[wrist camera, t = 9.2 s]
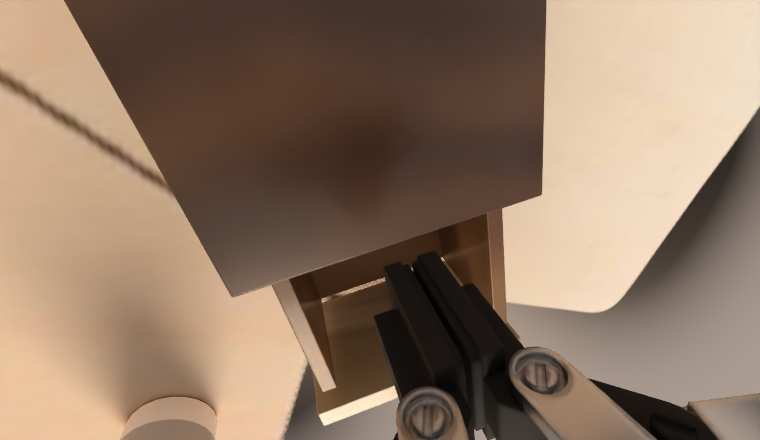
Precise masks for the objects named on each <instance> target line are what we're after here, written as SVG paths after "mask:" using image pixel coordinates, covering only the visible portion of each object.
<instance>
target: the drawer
mask: <svg viewBox="0 0 760 440" xmlns="http://www.w3.org/2000/svg"><path fill="white" fill-rule="evenodd" d="M431 251H435V252H436V253H437V254H438V256H439V257H440V258H441V257H443V259H444V260H445V261H443V262H444V264H445V265H446V267H447V268H448V269H449V271H450V272H451V273H452V275H453V276H454V277H455V279H456V280H457V282H458V283H459V284H460V286H463V285H466V284H469V283H472V284H474V285H475V286H476V287H477V288H478V290H479V291H480V292H481V293H482V295H483V296H484V297H485V299H486V300H487V301H488V302H489V304H490V305H491V306H492V307H493V309H494V310H495V311H496V312H497V314H498V315H499V316H500V318H501V319H502V320H503V321H504V323H505V324H506V325H507V326H508V328H509V329H510V330H511V331H512V333H513V334H514V335H515V337H516V338H517V339H518V340H519V342H520V337H519V336H518V334H517V333H516V332H515V331H514V329H513V328H512V327H511V326H510V324H509V323H508V322H507V319H506V318H507V317H506V294H505V270H504V246H503V222H502V208H501V209H498V210H495V211H492V212H489V213H486V214H483V215H480V216H477V217H474V218H471V219H468V220H465V221H462V222H459V223H456V224H453V225H450V226H447V227H444V228H441V229H438V230H435V231H432V232H429V233H426V234H423V235H420V236H417V237H414V238H411V239H408V240H405V241H402V242H399V243H396V244H393V245H390V246H387V247H384V248H381V249H378V250H375V251H372V252H369V253H366V254H363V255H360V256H357V257H354V258H351V259H348V260H345V261H341V262H338V263H335V264H332V265H329V266H326V267H323V268H320V269H317V270H314V271H311V272H308V273H305V274H302V275H299V276H296V277H293V278H290V279H287V280H284V281H281V282H278V283H275V284H272V287H273V289H274V291H275V293H276V295H277V297H278V299H279V301H280V304H281V306H282V308H283V310H284V312H285V314H286V316H287V318H288V320H289V322H290V324H291V327H292V329H293V331H294V333H295V335H296V337H297V339H298V341H299V343H300V345H301V347H302V350H303V352H304V354H305V356H306V358H307V360H308V362H309V364H310V366H311V368H312V370H313V376H314V384H315V393H316V401H317V410H318V415H319V417H320V419H321V421H322V423H323V425H324V426H326V425H328V424H331V423H333V422H336V421H338V420H341V419H344V418H346V417H349V416H351V415H354V414H356V413H359V412H362V411H364V410H367V409H370V408H372V407H375V406H377V405H380V404H383V403H385V402H387V401H390V400H393V399H395V398H398V395H397V392H396V389H395V386H394V383H393V380H392V378H391V375H390V372H389V369H388V366H387V363H386V360H385V357H384V354H383V351H382V348H381V345H380V341H379V338H378V335H377V331H376V327H375V323H374V320H373V316H374V315H377V314H380V313H383V312H386V311H389V310H392V307H391V302H390V298H389V293H388V289H387V285H386V281H385V282H382V283H379V284H376V285H374V286H371V287H368V288H365V289H362V290H359V291H356V292H353V293H350V294H347V295H344V296H342V297H339V298H336V299H333V300H330V301H327V302H324V303H322V302H321V298H324V297H327V296H330V295H333V294H336V293H339V292H342V291H345V290H348V289H351V288H353V287H356V286H359V285H362V284H365V283H368V282H371V281H374V280H377V279H380V278H383V277H385V276H384V271H383V267H384V266H387V265H390V264H393V263H396V262H399V261H400V262H401V264H402V265H405V264H408V265H409V266H410V268H412V262H415V261H417V256H418V255H421V254H425V253H428V252H431ZM413 273H414V272H413Z"/></svg>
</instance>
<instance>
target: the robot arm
mask: <svg viewBox="0 0 760 440" xmlns="http://www.w3.org/2000/svg"><path fill="white" fill-rule="evenodd" d="M412 267H413V272H414V273H413V272H412V270H411V268H410V266H409V265H408V264H405V265H402V264H401V262H400V261H399V262H396V263H393V264H390V265H387V266H384V267H383V271H384V276H385V280H386V285H387V289H388V293H389V298H390V302H391V307H392V310H389V311H386V312H383V313H380V314H377V315H374V316H373V320H374V323H375V327H376V331H377V335H378V338H379V341H380V345H381V348H382V351H383V354H384V357H385V360H386V363H387V366H388V369H389V372H390V375H391V378H392V380H393V383H394V386H395V389H396V392H397V395H398V398H399V401H400V403H399V405H398V408H397V411H396V425H397V433H396V435H395V438H394V440H475V438H474V429H475V430H476V431H478V430H480V429H482V430H483V432H484V434H485V436H486V438H487V440H490V439H493V438H496V440H760V393H758V394H750V395H742V396H734V397H725V398H717V399H709V400H701V401H692V402H689V403H688V405H687V406H685V407H679V406H677V405H674V404H672V403H669V402H666V401H663V400H659V399H656V398H653V397H649V396H646V395H643V394H639V393H636V392H632V391H629V390H626V389H622V388H619V387H615V386H612V385H609V384H606V383H602V382H599V381H596V380H592V379H589V378H587V377H586V376H584V375H583V374H582V373H581V372H580V371H579V370H578V369H577V368H575V367H574V366H573V365H572V364H571V363H570V362H569V361H567V360H566V359H565V358H564V357H562V356H561V355H560V354H558V353H557V352H555V351H552V350H550V349H547V348H542V347H527V348H524V347H523V345H522V344H521V343H520V342H519V340H518V339H517V338H516V337H515V335H514V334H513V333H512V331H511V330H510V329H509V328H508V326H507V325H506V324H505V323H504V321H503V320H502V319H501V318H500V316H499V315H498V314H497V312H496V311H495V310H494V309H493V307H492V306H491V305H490V304H489V302H488V301H487V300H486V299H485V297H484V296H483V295H482V293H481V292H480V291H479V290H478V288H477V287H476V286H475V285H474V284H472V283H469V284H466V285H463V286H460V284H459V283H458V282H457V280H456V279H455V277H454V276H453V275H452V273H451V272H450V271H449V269H448V268H447V267H446V265H445V264H444V262H443V261H442V260H441V258H440V257H439V256H438V254H437V253H436V252H435V251H431V252H428V253H425V254H421V255H418V256H417V261H415V262H412Z"/></svg>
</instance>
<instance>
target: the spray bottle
mask: <svg viewBox="0 0 760 440" xmlns="http://www.w3.org/2000/svg"><path fill="white" fill-rule="evenodd" d="M216 428H217V419H216V415H215V412H214V411H213V409H212V408H211V407H210V406H209V405H208V404H206V403H204V402H202V401H200V400H198V399H193V398H188V397H167V398H162V399H157V400H154V401H152V402H150V403H147V404H145V405H143V406H142V407H140V408H139V409H138V410H136V411H135V412H134V413H133V414H132V415H131V416H130V418H129V420H128V421H127V423H126V425H125V427H124V430H123V433H122V435H121V438H120V440H215V435H216Z"/></svg>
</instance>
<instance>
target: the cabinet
mask: <svg viewBox="0 0 760 440" xmlns="http://www.w3.org/2000/svg"><path fill="white" fill-rule="evenodd" d="M64 1H65V3H66V5H67V7H68V8H69V10H70V12H71V14H72V15H73V17H74V19H75V21H76V22H77V24H78V26H79V28H80V30H81V31H82V33H83V35H84V37H85V38H86V40H87V42H88V44H89V45H90V47H91V49H92V51H93V53H94V54H95V56H96V58H97V60H98V61H99V63H100V65H101V67H102V68H103V70H104V72H105V74H106V76H107V77H108V79H109V81H110V83H111V84H112V86H113V88H114V90H115V91H116V93H117V95H118V97H119V99H120V100H121V102H122V104H123V106H124V107H125V109H126V111H127V113H128V114H129V116H130V118H131V120H132V122H133V123H134V125H135V127H136V129H137V130H138V132H139V134H140V136H141V137H142V139H143V141H144V143H145V145H146V146H147V148H148V150H149V152H150V153H151V155H152V157H153V159H154V160H155V162H156V164H157V166H158V167H159V169H160V171H161V173H162V175H163V176H164V178H165V180H166V182H167V183H168V185H169V187H170V189H171V190H172V192H173V194H174V196H175V198H176V199H177V201H178V203H179V205H180V206H181V208H182V210H183V212H184V213H185V215H186V217H187V219H188V221H189V222H190V224H191V226H192V228H193V229H194V231H195V233H196V235H197V236H198V238H199V240H200V242H201V244H202V245H203V247H204V249H205V251H206V252H207V254H208V256H209V258H210V259H211V261H212V263H213V265H214V267H215V268H216V270H217V272H218V274H219V275H220V277H221V279H222V281H223V282H224V284H225V286H226V288H227V290H228V291H229V293H230V295H231V297H236V296H239V295H242V294H245V293H248V292H251V291H254V290H257V289H260V288H263V287H266V286H269V285H272V284H275V283H278V282H281V281H284V280H287V279H290V278H293V277H296V276H299V275H302V274H305V273H308V272H311V271H314V270H317V269H320V268H323V267H326V266H329V265H332V264H335V263H338V262H341V261H345V260H348V259H351V258H354V257H357V256H360V255H363V254H366V253H369V252H372V251H375V250H378V249H381V248H384V247H387V246H390V245H393V244H396V243H399V242H402V241H405V240H408V239H411V238H414V237H417V236H420V235H423V234H426V233H429V232H432V231H435V230H438V229H441V228H444V227H447V226H450V225H453V224H456V223H459V222H462V221H465V220H468V219H471V218H474V217H477V216H480V215H483V214H486V213H489V212H492V211H495V210H498V209H501V208H504V207H507V206H510V205H513V204H516V203H519V202H522V201H525V200H528V199H531V198H534V197H537V196H540V195H542V168H543V124H544V80H545V37H546V0H64Z"/></svg>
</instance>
